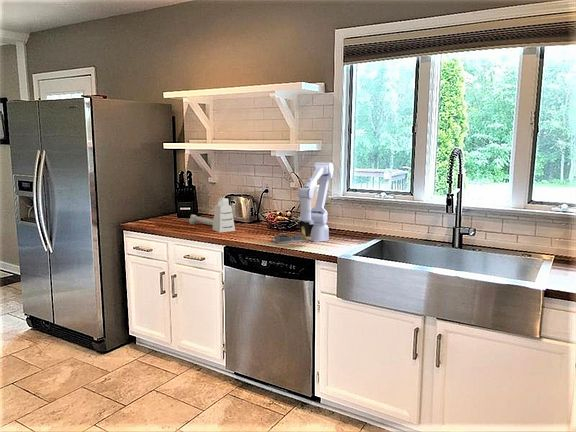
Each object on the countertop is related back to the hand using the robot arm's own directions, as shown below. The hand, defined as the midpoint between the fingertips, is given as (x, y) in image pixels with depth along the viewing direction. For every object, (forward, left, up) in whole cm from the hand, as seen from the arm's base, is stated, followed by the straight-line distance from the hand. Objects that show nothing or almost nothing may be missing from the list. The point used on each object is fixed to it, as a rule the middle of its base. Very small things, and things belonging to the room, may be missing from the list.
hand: (305, 235), depth 255 cm
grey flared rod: (+33, -84, -6) cm, 90 cm away
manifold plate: (+3, -14, -5) cm, 15 cm away
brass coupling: (0, 0, -2) cm, 2 cm away
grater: (+27, -60, -6) cm, 66 cm away
